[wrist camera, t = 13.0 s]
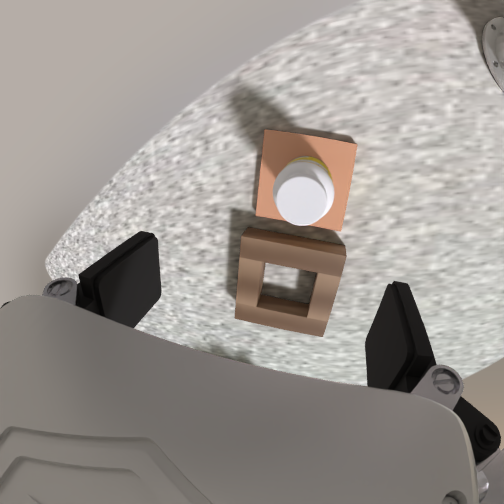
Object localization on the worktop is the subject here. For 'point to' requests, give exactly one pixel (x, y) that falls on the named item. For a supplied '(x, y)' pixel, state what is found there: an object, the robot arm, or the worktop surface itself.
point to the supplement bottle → (303, 191)
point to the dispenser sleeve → (295, 256)
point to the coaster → (296, 145)
